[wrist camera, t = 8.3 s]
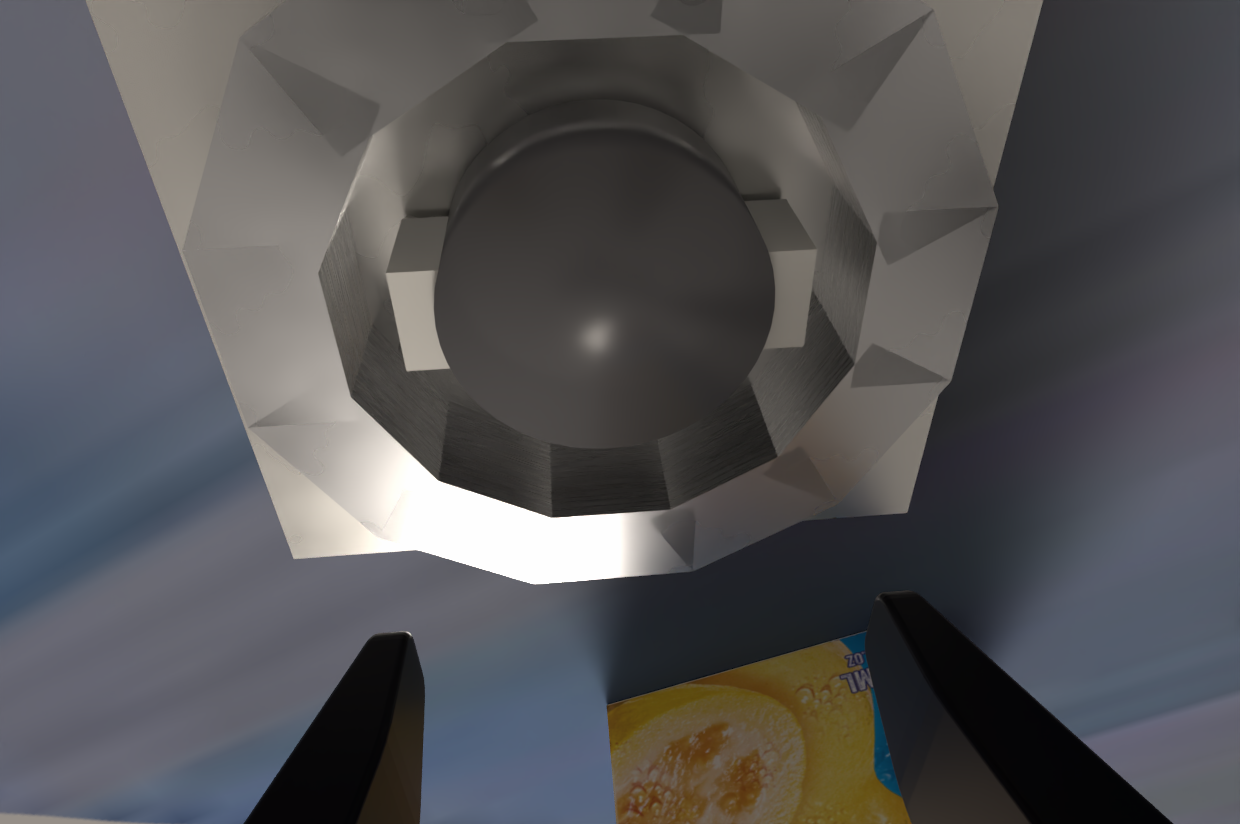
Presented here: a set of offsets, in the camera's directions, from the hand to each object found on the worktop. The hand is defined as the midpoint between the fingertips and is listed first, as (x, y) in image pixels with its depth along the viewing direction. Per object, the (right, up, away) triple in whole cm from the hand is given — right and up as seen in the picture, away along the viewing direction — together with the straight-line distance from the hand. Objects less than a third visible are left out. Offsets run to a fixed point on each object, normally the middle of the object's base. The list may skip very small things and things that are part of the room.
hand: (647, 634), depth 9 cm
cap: (-1, +6, +7) cm, 9 cm away
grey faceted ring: (-1, +6, +8) cm, 10 cm away
